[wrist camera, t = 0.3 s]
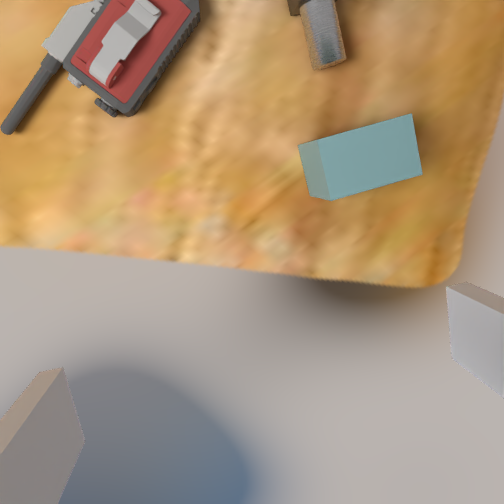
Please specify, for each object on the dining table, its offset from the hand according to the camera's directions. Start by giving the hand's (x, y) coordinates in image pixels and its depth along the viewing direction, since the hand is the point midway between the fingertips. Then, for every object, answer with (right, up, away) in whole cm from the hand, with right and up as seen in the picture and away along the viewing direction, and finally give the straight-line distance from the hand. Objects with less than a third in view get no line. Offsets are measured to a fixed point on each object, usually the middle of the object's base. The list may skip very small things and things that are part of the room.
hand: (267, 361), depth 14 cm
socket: (+8, +13, +26) cm, 30 cm away
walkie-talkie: (-13, +20, +23) cm, 34 cm away
